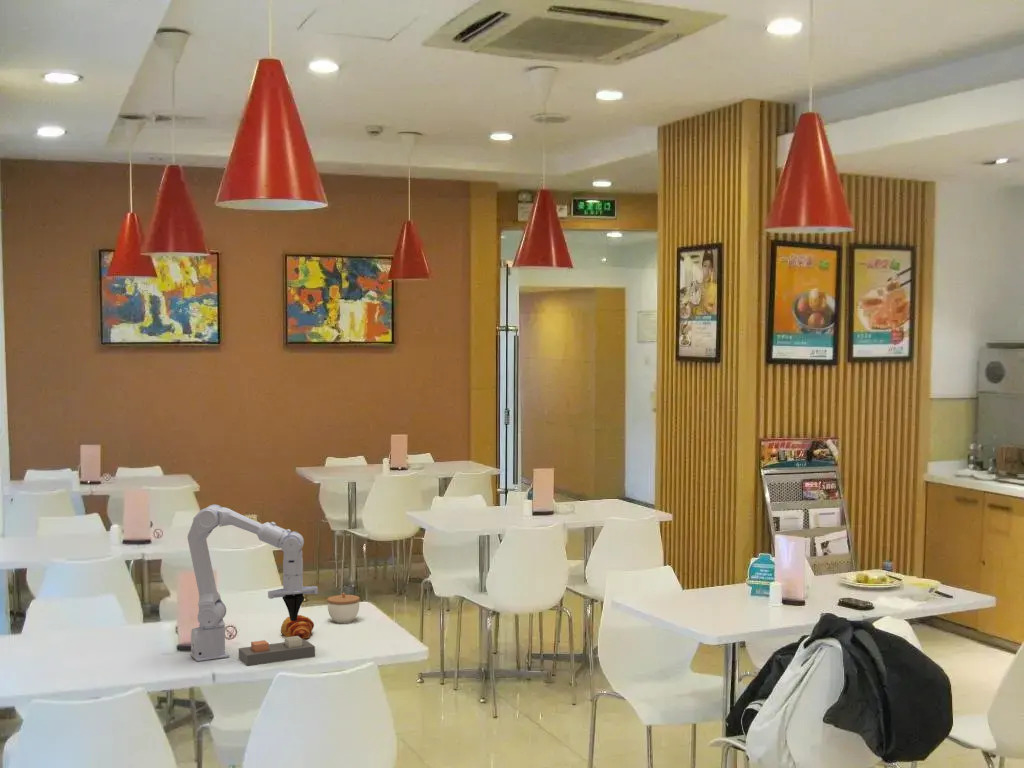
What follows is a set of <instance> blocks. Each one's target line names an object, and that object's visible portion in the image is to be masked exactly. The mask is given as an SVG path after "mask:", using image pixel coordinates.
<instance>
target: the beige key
mask: <svg viewBox="0 0 1024 768" xmlns="http://www.w3.org/2000/svg"><path fill="white" fill-rule="evenodd" d="M302 640H303V639H302V638H300V637H299V636H294V637H284V642H285V646H286V647H287V648H292V647H299V646H302Z"/></svg>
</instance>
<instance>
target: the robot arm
mask: <svg viewBox="0 0 1024 768" xmlns="http://www.w3.org/2000/svg"><path fill="white" fill-rule="evenodd" d="M276 524H277V523H276V522H274V521H271V522H269V521H267V522H264V523H260V522H258V521H256V520H254V519H252V518H250V517H248V516H245V515H243V514H241V513H239V512H237V511H234V510H232V509H230V508H228V507H225V506H223V507H222V506H221V505H219V504H210V505H208V506H207V507H205V508H203V509H201V510H199V511H198V513H197V514H195V516H194V517H193V519H192V523H191V526H190V528H189V532H188V533H187V542H188V548H189V553H190V558H191V561H192V566H193V567H192V568H193V571H194V576H195V581H196V587H197V591H198V605H197V607H198V613H197V621H198V623H199V625H198V627H194V628H192V629H191V631H190V656H191V657H192V658H193V659H194V660H195V661H197V662H201V661H209V660H216V659H222V658H223V659H224V658H229V657H230V654H229V653H227V651H226V623H225V621H224V617H226V615H227V607H226V604H225V603H224V602H223V601H222V598H221V595H220V593H219V592H218V590H217V589H218V588H217V585H216V580H215V575H214V572H213V566H212V559H211V555H210V552H209V546H208V542H207V539H208V538H209V536H210V534H211V533H212V532H213V530H214V529H216V528H217V527H220V528H222V527H226V526H233V527H237V528H239V529H242V530H245V531H247V532H249V533H252V534H255V535H256V536H257V538H258V540H259V541H260V542H263V543H265V544H268V545H270V546H273V547H275V548H277V549H280V550H282V552H283V559H282V571H283V572H282V580H283V581H282V588H279V589H274V590H268V591H267V597H268V599H269V600H270V599H271V600H272V599H276V598H282V600H283V602H284V604H285V606H286V609H287V612H288V615H289V616H288V617H290V620H291V621H297V615H299V611H300V609H301V606H302V604H303V603H304V600H305V596H304V595H312V594H314V595H317V594H318V593H319V592H318V591H319V587H318V586H316V585H313V586H311V585H310V586H304V558H303V547H304V544H305V539H304V537H303V535H302V534H300V533H299V532H298V531H291V529H289V528H288V529H285V528H283V527H281V526H278V525H276Z"/></svg>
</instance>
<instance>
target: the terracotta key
mask: <svg viewBox="0 0 1024 768" xmlns="http://www.w3.org/2000/svg"><path fill="white" fill-rule="evenodd" d="M269 644H270V643H269V642H268V641H266V640H265V639H264V640H257V641H251V642H250V647H251V650H252V651H253V652H254V653H255V652H262V651H269Z"/></svg>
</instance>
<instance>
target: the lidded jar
mask: <svg viewBox="0 0 1024 768" xmlns="http://www.w3.org/2000/svg"><path fill="white" fill-rule="evenodd" d="M326 601H327V612H328V615H329V617H330V618H331V619H332V620H333V621H335V622H334V623H336V622H337V624H348V622H349V623H352V622H353V621H354V619H356V617H357V616H358V613H359V609H360V596H358V595H355V594H346V593H345V592H341V594H338V595H332V596H329V597H327V599H326Z"/></svg>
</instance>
